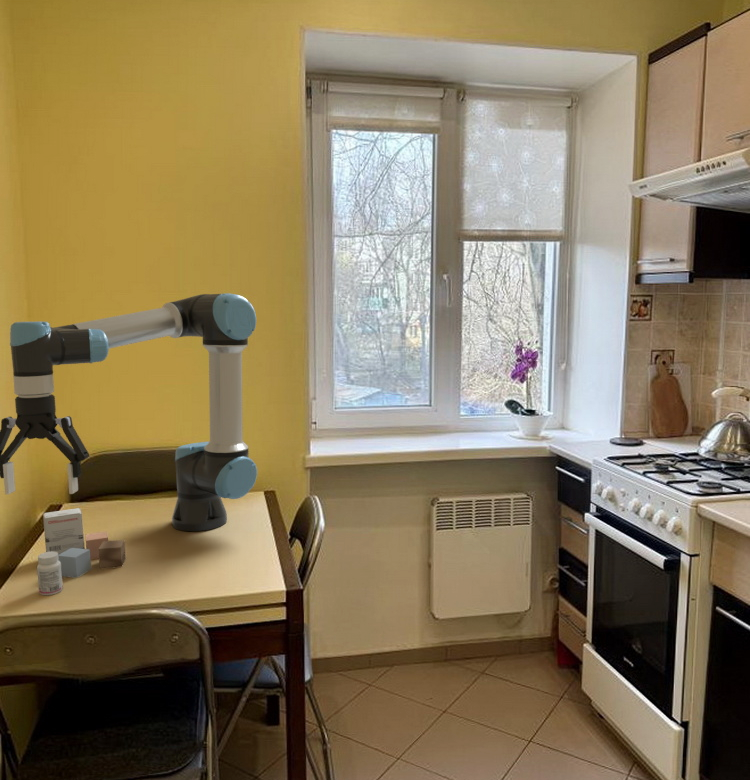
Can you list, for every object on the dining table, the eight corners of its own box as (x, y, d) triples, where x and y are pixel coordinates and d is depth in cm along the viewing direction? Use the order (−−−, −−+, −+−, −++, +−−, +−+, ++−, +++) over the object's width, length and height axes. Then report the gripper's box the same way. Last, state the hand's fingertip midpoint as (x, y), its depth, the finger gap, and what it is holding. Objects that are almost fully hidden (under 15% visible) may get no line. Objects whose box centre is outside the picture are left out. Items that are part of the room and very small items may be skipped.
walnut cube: (125, 559, 165) (124, 539, 164) (122, 567, 160) (120, 547, 159) (104, 560, 164) (102, 541, 163) (99, 569, 159) (98, 548, 158)
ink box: (83, 551, 170) (80, 507, 168) (85, 558, 165) (82, 512, 164) (46, 557, 166) (42, 512, 164) (47, 564, 161) (43, 518, 160)
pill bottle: (44, 587, 149) (41, 550, 148) (66, 586, 149) (63, 550, 148) (35, 596, 144) (32, 559, 143) (58, 595, 145) (55, 558, 144)
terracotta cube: (107, 549, 171) (106, 531, 170) (109, 556, 167) (108, 537, 166) (86, 553, 169) (85, 534, 168) (87, 560, 164) (86, 540, 164)
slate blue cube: (91, 569, 159) (89, 549, 158) (77, 578, 154) (75, 557, 153) (73, 567, 160) (71, 547, 159) (58, 576, 155) (57, 555, 154)
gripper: (101, 392, 145) (106, 487, 148) (-15, 392, 144) (-7, 487, 147) (86, 397, 137) (93, 496, 140) (-36, 397, 137) (-27, 497, 140)
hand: (42, 492), depth 144 cm, fingers open, 13 cm apart
